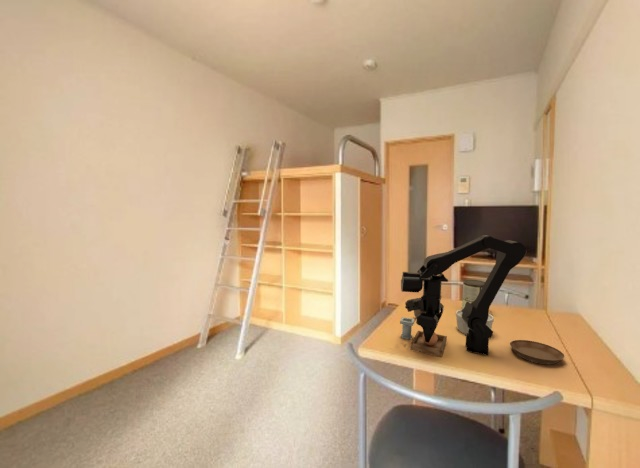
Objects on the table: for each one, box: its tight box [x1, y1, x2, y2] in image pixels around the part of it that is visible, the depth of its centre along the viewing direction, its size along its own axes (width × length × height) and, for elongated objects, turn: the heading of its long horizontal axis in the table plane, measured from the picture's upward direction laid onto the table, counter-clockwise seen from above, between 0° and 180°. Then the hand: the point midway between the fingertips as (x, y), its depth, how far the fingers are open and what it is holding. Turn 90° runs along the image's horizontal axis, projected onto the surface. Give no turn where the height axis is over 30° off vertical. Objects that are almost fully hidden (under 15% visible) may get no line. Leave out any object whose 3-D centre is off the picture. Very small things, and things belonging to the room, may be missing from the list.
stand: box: [399, 316, 416, 340], centre depth 116 cm, size 5×5×6 cm
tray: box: [409, 330, 448, 358], centre depth 110 cm, size 10×13×2 cm
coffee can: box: [461, 279, 486, 310], centre depth 146 cm, size 10×10×14 cm
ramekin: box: [455, 308, 494, 335], centre depth 123 cm, size 13×13×7 cm
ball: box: [423, 331, 438, 346], centre depth 109 cm, size 5×5×5 cm
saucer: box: [509, 339, 565, 365], centre depth 104 cm, size 15×15×3 cm
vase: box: [413, 309, 425, 319], centre depth 135 cm, size 7×7×9 cm
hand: (429, 337), depth 109 cm, fingers open, 9 cm apart
